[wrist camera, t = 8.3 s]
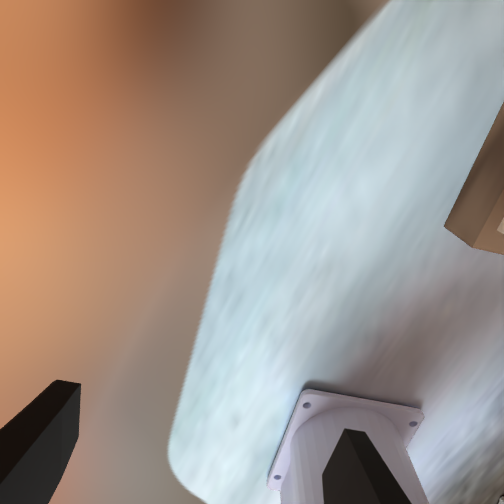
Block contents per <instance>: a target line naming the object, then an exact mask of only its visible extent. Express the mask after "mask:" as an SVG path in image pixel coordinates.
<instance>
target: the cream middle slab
mask: <svg viewBox="0 0 504 504" xmlns="http://www.w3.org/2000/svg"><path fill="white" fill-rule="evenodd" d="M497 231H499V232H501V233H502V234H504V218H503V220H502V222H501V223H500V225H499V227H498V229H497Z"/></svg>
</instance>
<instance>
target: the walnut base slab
mask: <svg viewBox="0 0 504 504" xmlns="http://www.w3.org/2000/svg"><path fill="white" fill-rule="evenodd" d="M503 218H504V102H503V104H502V106H501V109H500V111H499V113H498V115H497V117H496V119H495V121H494V123H493V125H492V127H491V129H490V131H489V133H488V135H487V138H486V140H485V142H484V144H483V146H482V148H481V150H480V152H479V154H478V156H477V158H476V160H475V162H474V164H473V167H472V169H471V171H470V173H469V175H468V177H467V179H466V181H465V183H464V185H463V187H462V189H461V191H460V193H459V195H458V198H457V200H456V202H455V204H454V206H453V208H452V210H451V212H450V214H449V216H448V218H447V220H446V222H445V224H444V227H445V228H446V229H448V230H449V231H450V232H452V233H453V234H454V235H456V236H457V237H458V238H460V239H461V240H463V241H464V242H465V243H467V244H468V245H469V246H471V247H472V248H476V249H480V250H485V251H489V252H494V253H498V254H503V255H504V234H502V233H501V232H499V231H497V229H498V227H499V225H500V223H501V222H502V220H503Z"/></svg>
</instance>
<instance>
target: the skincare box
mask: <svg viewBox="0 0 504 504" xmlns="http://www.w3.org/2000/svg"><path fill="white" fill-rule="evenodd" d="M498 504H504V496H502V497H500V500H499V503H498Z"/></svg>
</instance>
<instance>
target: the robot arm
mask: <svg viewBox="0 0 504 504" xmlns="http://www.w3.org/2000/svg"><path fill="white" fill-rule="evenodd" d="M80 394H81V384H80V383H74V382H68V381H62V380H56V381H54V382H52V383H51V384H50V385H49V386H48V387H47V388H46V389H45V390H44V391H43V392H42V393H40V394H39V395H38V396H37V397H36V398H35V399H34V400H33V401H32V402H31V403H30V404H29V405H27V406H26V407H25V408H24V409H23V410H22V411H21V412H19V413H18V414H17V415H16V416H15V417H14V418H13V419H12V420H10V421H9V422H8V423H7V424H6V425H5V426H4V427H2V428H1V429H0V504H48V503H49V501H50V499H51V497H52V496H53V494H54V492H55V490H56V488H57V486H58V484H59V482H60V480H61V478H62V476H63V473H64V471H65V469H66V466H67V464H68V461H69V459H70V457H71V454H72V452H73V449H74V447H75V444H76V442H77V439H78V436H79V415H80ZM306 402H309V403H306ZM423 419H424V414H423V412H422V411H421V410H420V409H418V408H413V407H407V406H402V405H396V404H391V403H385V402H379V401H374V400H368V399H363V398H357V397H351V396H346V395H340V394H335V393H329V392H323V391H318V390H312V389H307V390H304V391H302V393H301V394H300V397H299V399H298V402H297V405H296V407H295V410H294V412H293V415H292V417H291V420H290V422H289V425H288V428H287V430H286V433H285V435H284V438H283V440H282V443H281V445H280V448H279V450H278V453H277V456H276V458H275V461H274V463H273V466H272V468H271V471H270V473H269V476H268V479H267V487H268V488H269V489H270V490H275V491H280V496H281V504H429V502H428V500H427V497H426V495H425V493H424V490H423V488H422V486H421V483H420V481H419V478H418V476H417V474H416V471H415V469H414V467H413V464H412V462H411V459H410V457H409V455H408V452H407V450H406V447H407V446H408V444H409V442H410V441H411V439H412V437H413V436H414V434H415V432H416V431H417V429H418V428H419V426H420V424H421V423H422V421H423Z"/></svg>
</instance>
